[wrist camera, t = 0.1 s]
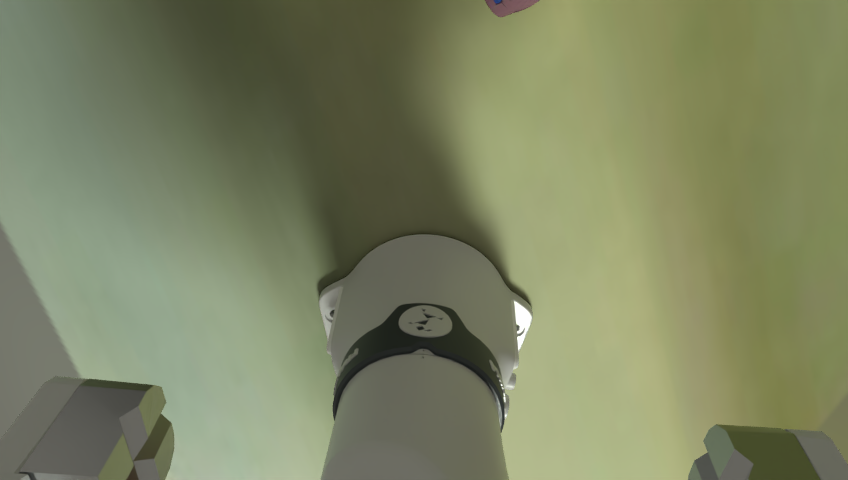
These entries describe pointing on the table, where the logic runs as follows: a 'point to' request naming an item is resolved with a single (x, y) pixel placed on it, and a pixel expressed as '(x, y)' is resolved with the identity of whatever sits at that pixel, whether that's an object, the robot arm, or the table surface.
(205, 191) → the table surface
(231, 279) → the table surface
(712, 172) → the table surface
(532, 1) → the video game controller
